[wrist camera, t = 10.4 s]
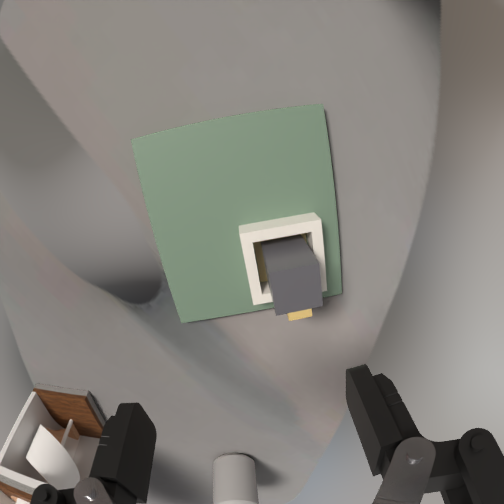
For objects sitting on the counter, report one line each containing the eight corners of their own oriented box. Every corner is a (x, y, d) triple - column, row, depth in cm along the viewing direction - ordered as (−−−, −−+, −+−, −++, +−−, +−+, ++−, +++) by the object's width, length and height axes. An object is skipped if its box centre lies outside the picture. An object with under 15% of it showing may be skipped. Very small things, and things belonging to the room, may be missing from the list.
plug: (260, 241, 30) (268, 272, 24) (300, 234, 30) (319, 262, 24) (268, 284, 32) (277, 323, 26) (305, 277, 32) (323, 313, 26)
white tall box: (112, 433, 43) (76, 607, 11) (63, 425, 43) (15, 579, 10) (88, 390, 39) (26, 593, 6) (36, 383, 38) (-37, 553, 6)
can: (205, 461, 47) (203, 516, 36) (230, 446, 45) (232, 506, 34) (237, 472, 49) (240, 523, 38) (263, 457, 47) (269, 513, 36)
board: (134, 139, 27) (122, 140, 24) (319, 104, 27) (331, 101, 24) (182, 317, 35) (178, 336, 31) (338, 288, 35) (349, 305, 31)
